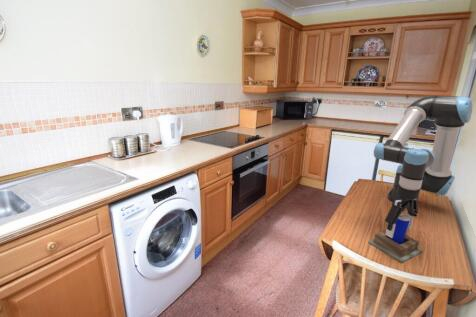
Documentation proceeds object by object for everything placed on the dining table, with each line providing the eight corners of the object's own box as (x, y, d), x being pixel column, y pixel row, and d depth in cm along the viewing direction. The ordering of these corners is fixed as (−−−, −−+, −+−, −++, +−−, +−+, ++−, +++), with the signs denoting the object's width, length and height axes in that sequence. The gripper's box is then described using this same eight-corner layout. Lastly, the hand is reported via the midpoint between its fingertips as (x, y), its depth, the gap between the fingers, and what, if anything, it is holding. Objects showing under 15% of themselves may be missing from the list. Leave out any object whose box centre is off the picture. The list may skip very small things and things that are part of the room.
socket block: (388, 234, 120) (390, 225, 119) (422, 252, 107) (425, 242, 106) (368, 242, 114) (370, 233, 112) (401, 263, 101) (404, 253, 99)
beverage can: (396, 241, 113) (404, 212, 108) (404, 249, 108) (413, 219, 103) (385, 241, 112) (393, 212, 108) (393, 249, 108) (401, 218, 103)
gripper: (416, 178, 110) (405, 221, 117) (381, 188, 99) (371, 234, 106) (435, 184, 104) (423, 229, 110) (400, 196, 93) (389, 244, 100)
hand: (398, 232), depth 108 cm, fingers open, 12 cm apart
